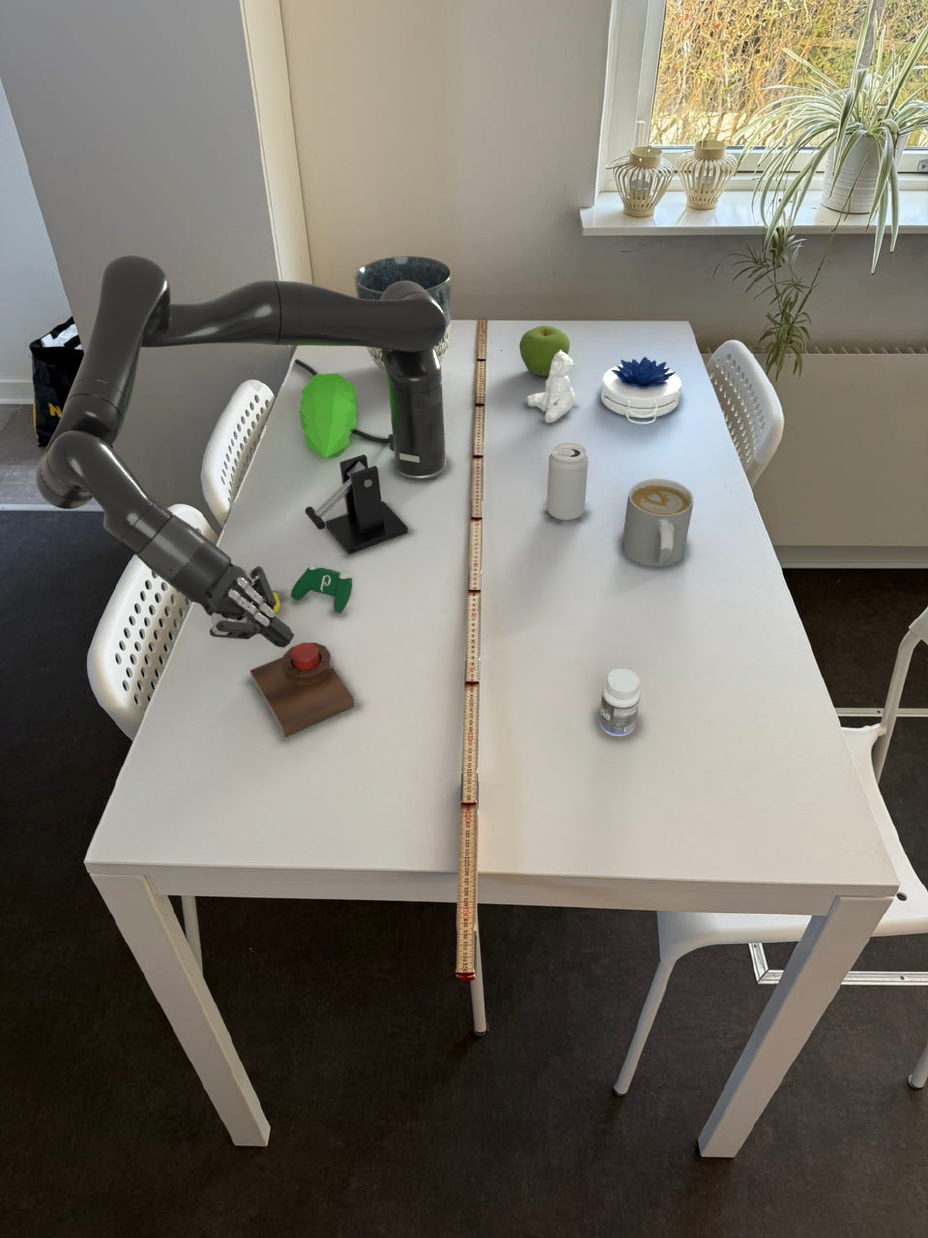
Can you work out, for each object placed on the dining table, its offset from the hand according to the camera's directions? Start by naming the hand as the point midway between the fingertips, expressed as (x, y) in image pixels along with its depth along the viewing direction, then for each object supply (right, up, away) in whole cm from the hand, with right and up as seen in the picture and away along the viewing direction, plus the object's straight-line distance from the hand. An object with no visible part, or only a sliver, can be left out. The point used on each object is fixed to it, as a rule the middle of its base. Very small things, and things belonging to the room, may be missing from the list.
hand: (288, 641), depth 116 cm
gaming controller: (+2, +6, +17) cm, 19 cm away
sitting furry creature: (+42, +45, +58) cm, 85 cm away
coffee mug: (+54, +13, +23) cm, 60 cm away
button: (+2, -3, +2) cm, 4 cm away
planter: (+12, +56, +71) cm, 91 cm away
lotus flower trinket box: (+59, +46, +58) cm, 95 cm away
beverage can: (+41, +21, +32) cm, 56 cm away
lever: (+4, +22, +23) cm, 32 cm away
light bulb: (-6, +5, +16) cm, 17 cm away
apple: (+41, +56, +69) cm, 98 cm away
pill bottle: (+44, -11, -3) cm, 45 cm away
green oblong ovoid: (-2, +37, +50) cm, 62 cm away
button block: (+1, -7, +2) cm, 8 cm away
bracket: (+7, +18, +29) cm, 35 cm away
